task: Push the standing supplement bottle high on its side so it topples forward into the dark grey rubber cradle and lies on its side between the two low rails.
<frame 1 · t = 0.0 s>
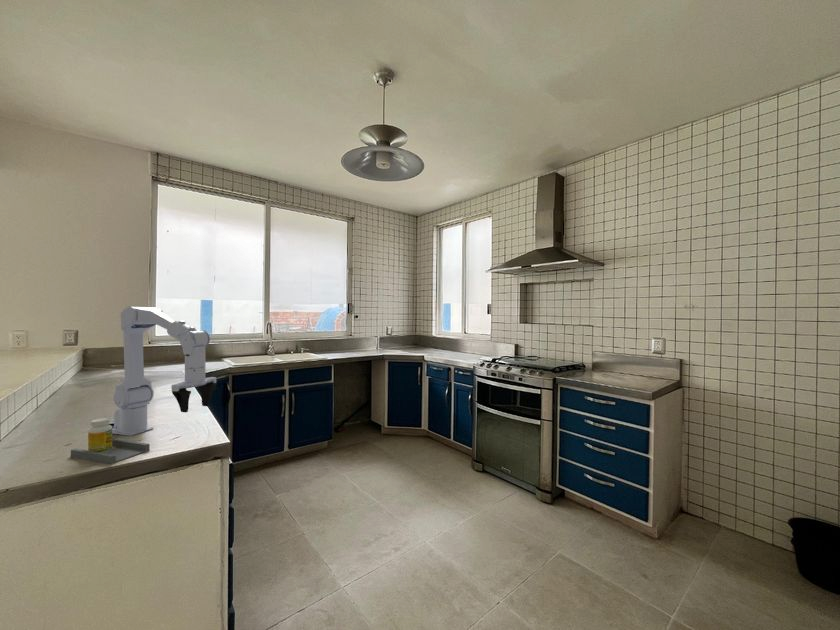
hand: (195, 408, 114), 10 cm above the counter, tool pointing down, fingers open, 7 cm apart
rubber cradle: (111, 453, 103), on the counter
supplement bottle: (100, 452, 104), resting on rubber cradle
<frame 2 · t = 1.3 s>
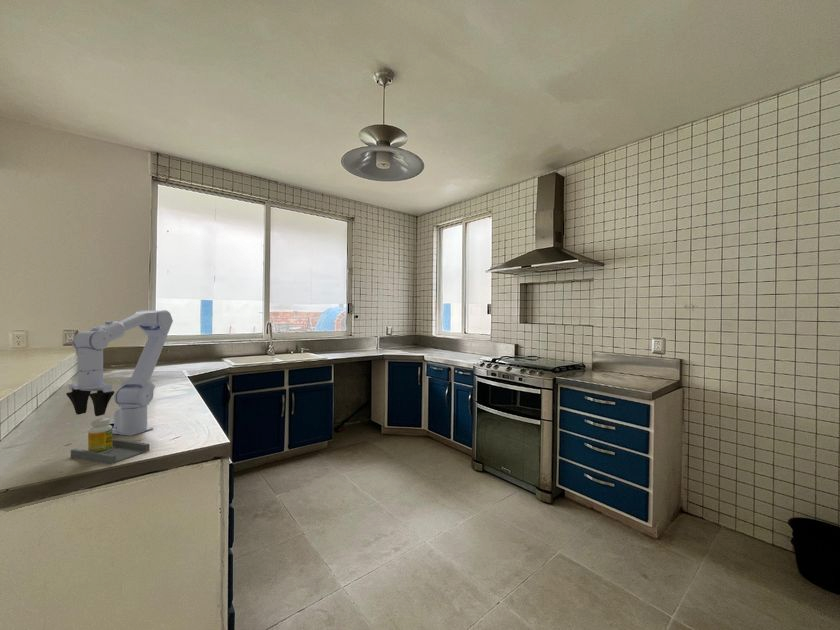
hand: (90, 414, 107), 10 cm above the counter, tool pointing down, fingers open, 7 cm apart
nothing on the counter moved.
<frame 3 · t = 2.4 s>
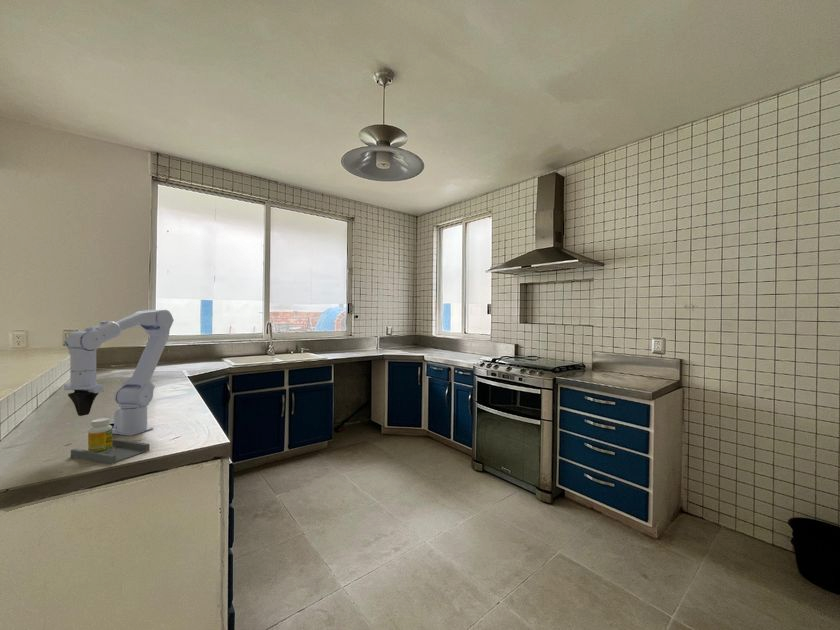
hand: (83, 414, 106), 10 cm above the counter, tool pointing down, fingers closed
nothing on the counter moved.
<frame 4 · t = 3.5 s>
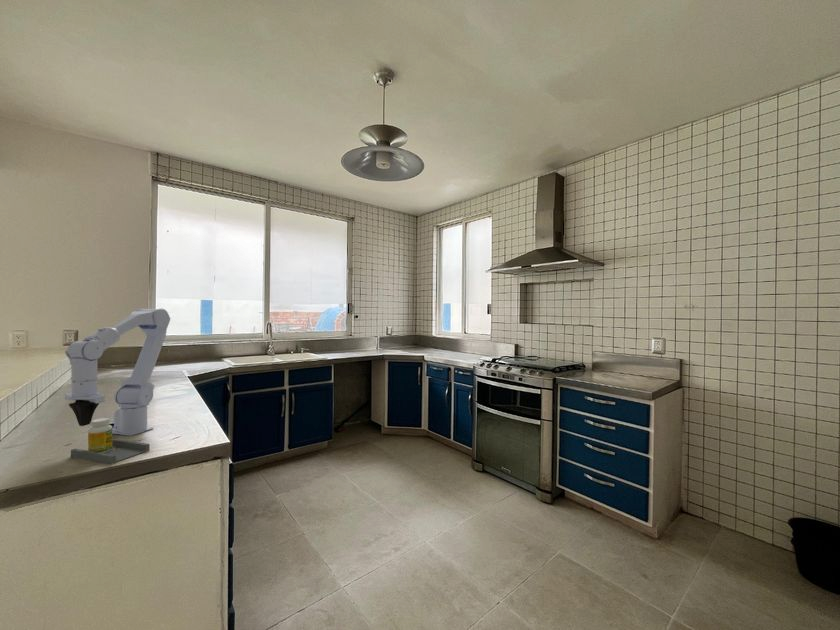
hand: (84, 424, 106), 7 cm above the counter, tool pointing down, fingers closed
nothing on the counter moved.
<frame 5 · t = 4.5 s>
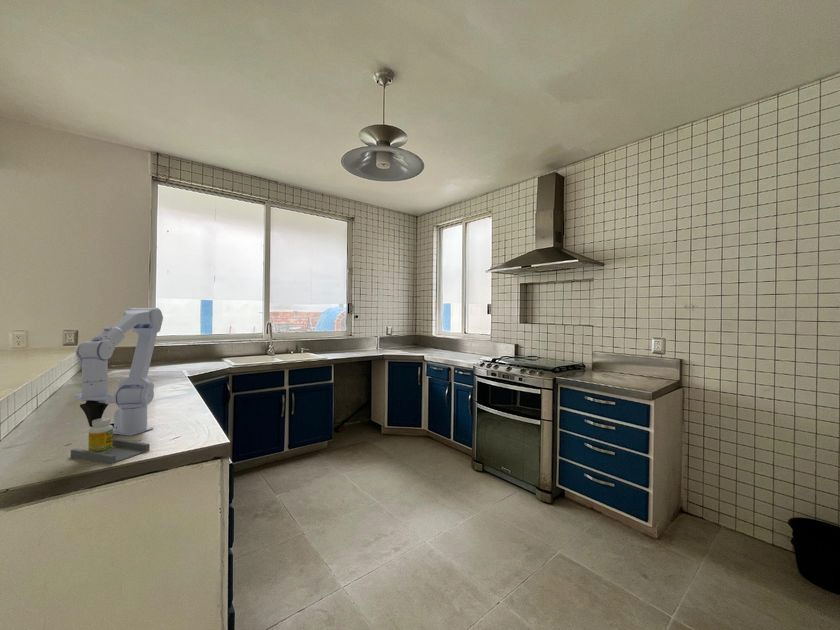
hand: (94, 426, 105), 8 cm above the counter, tool pointing down, fingers closed, pressing on supplement bottle
supplement bottle: (100, 452, 104), resting on rubber cradle, touching gripper
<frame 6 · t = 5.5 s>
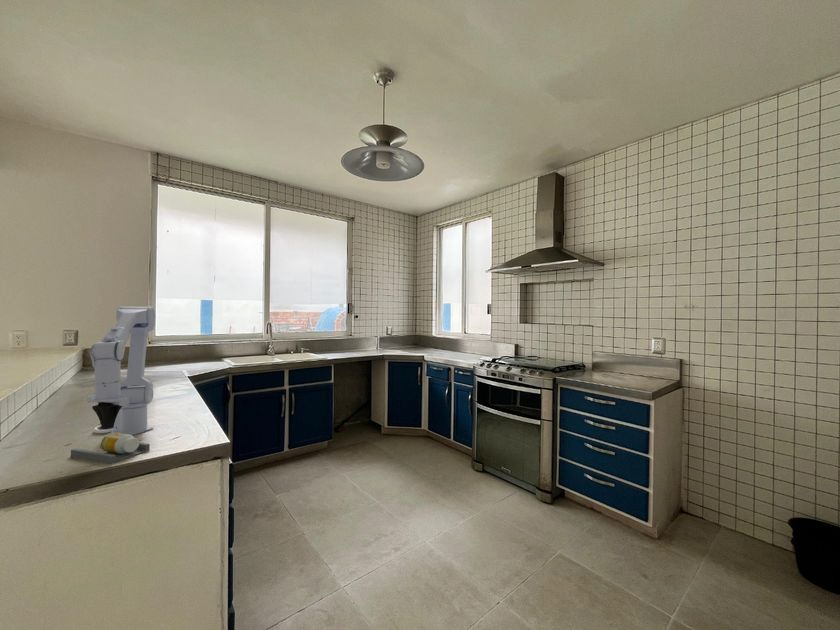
hand: (107, 428, 103), 7 cm above the counter, tool pointing down, fingers closed
supplement bottle: (109, 441, 104), point 3 cm above the counter, touching rubber cradle
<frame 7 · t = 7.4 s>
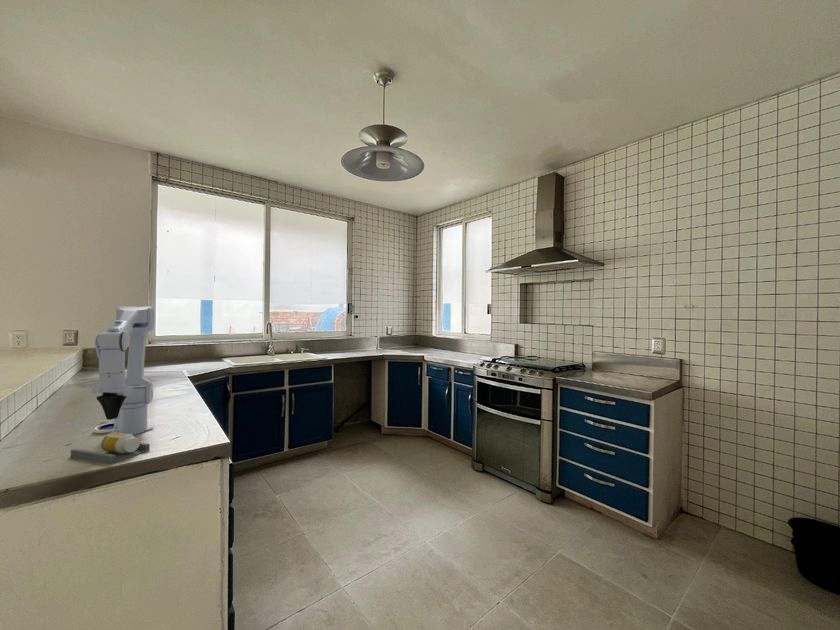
hand: (112, 418, 103), 10 cm above the counter, tool pointing down, fingers closed
nothing on the counter moved.
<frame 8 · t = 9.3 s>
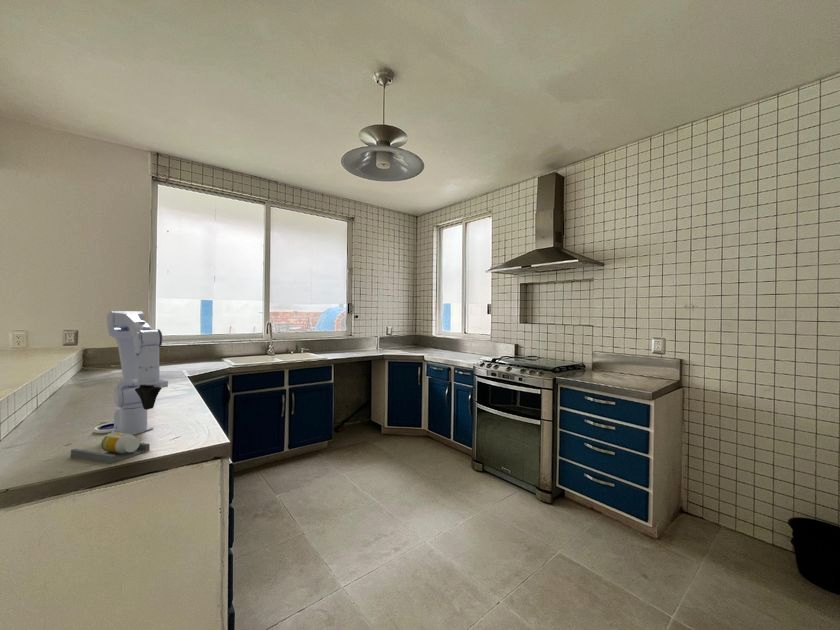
hand: (148, 408, 113), 10 cm above the counter, tool pointing down, fingers closed
nothing on the counter moved.
at the end: supplement bottle tilted 90°; supplement bottle inside the target area on the rubber cradle (3.8 cm from its centre), point 3.0 cm above the rubber cradle's base; supplement bottle touching rubber cradle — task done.
